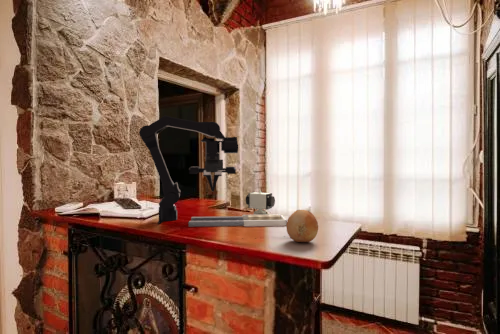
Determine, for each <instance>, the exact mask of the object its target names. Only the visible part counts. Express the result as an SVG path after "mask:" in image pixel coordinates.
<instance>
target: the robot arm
mask: <svg viewBox="0 0 500 334" xmlns="http://www.w3.org/2000/svg"><path fill="white" fill-rule="evenodd" d="M168 127H170V128H175V129H181V130H185V131H186V130H187V131H192V132H195V133H196V132H197V133H200V134H202V135H204V136H203V138H202V139H201V140H200V142H201V143H205V162H204V167H200V166H190V167H189V168H188V174H189V175H197V174H199V173H203V174H202V175H203V177H206V179H207V182H208V183H209V187H210V190H211V192H215V189H216V185H217V182H218V179H219V177H222V176H223V175H222V174H223V173H227V175H235V174H237V173H236V171H237V170H236V169H237V168H236V167H235V166H226V167H224V159H220V158H221V157H220V155H221V153H220V152H221V151H222V152H223V154H238V153H239V144H238V137H237V136H231V137H229V136H225V135H224V134H223V133H222V131H221V127H220V125H219V123H217V122H216V121H195V120H188V119H184V118H178V117H172V116H169V115H163V116H161V117H160V118H159V119H157V120H155V121H154V122H152V123H150V124H149V125H144V126H142V127H141V128H140V129H139V132H138V135H139V137H140V138H141V140H142V142H143V143H144V145H145V146H146V148H147V149H148V151H149V153H150V155H151V158H152V161H153V163H154V165H155V168H156V172H157V174H158V176H159V178H160V181H161V185H162V193H163V198H161V199H160V200H159V203H158V221H157V224H162V223H163V222H172V221H177V220H178V209H177V206H176V205H175V204H177V202H178V201H179V199H180V196H181V192H182V191H181V189H180V188H179V184H178V182H177V181H176V182H175V183H174V181H173V180H172V178H171V176H170V172H169V169H168V168H167V164H166V161H165V159H164V157H163V154H162V152H161V149H160V145H159V139H158V137H159V136H158V134H160V133H161V132H162V131H163V130H165V129H167V128H168ZM215 139H217V140H215ZM212 173H214V175H213V176H212ZM212 177H213V178H212Z"/></svg>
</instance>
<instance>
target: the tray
mask: <svg viewBox="0 0 500 334" xmlns="http://www.w3.org/2000/svg"><path fill="white" fill-rule="evenodd" d="M248 215H249V214H242V215H241V216H243V220H244V227H286V225H287V220H288V219H286V217H284V216H283V214H280V213H278V214H277V213H276V214H275V213H272V214H270V213H269V214H268V213H267V214H260V215H279V216H280V220H248Z"/></svg>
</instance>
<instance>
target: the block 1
mask: <svg viewBox="0 0 500 334" xmlns="http://www.w3.org/2000/svg"><path fill="white" fill-rule="evenodd" d="M247 215H248V220H259V215H253V214H247Z"/></svg>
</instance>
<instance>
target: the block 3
mask: <svg viewBox="0 0 500 334" xmlns="http://www.w3.org/2000/svg"><path fill="white" fill-rule="evenodd" d="M269 216H270V220H280V216H279V215H269Z"/></svg>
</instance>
